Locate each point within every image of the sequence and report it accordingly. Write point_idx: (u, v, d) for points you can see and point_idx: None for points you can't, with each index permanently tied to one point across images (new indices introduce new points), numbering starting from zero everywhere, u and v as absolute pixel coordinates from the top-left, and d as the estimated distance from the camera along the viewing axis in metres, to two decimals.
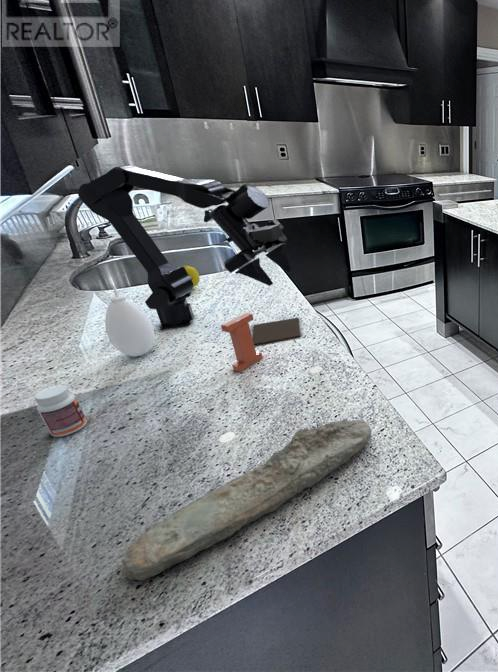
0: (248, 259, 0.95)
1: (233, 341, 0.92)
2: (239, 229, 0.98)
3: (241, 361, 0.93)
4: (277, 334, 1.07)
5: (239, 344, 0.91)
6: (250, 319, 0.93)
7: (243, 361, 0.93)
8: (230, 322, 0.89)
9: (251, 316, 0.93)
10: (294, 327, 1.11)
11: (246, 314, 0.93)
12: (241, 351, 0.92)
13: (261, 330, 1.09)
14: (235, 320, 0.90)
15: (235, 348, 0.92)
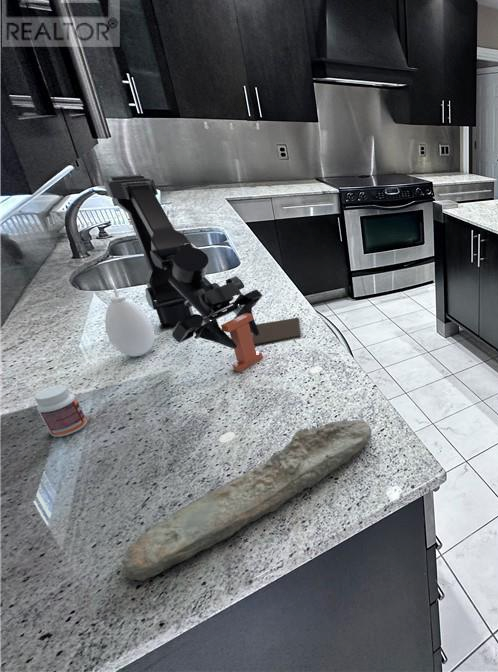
0: (190, 326, 0.83)
1: None
2: (193, 292, 0.88)
3: (241, 361, 0.93)
4: (277, 334, 1.07)
5: (239, 344, 0.91)
6: (250, 319, 0.93)
7: (243, 361, 0.93)
8: (230, 322, 0.89)
9: (251, 316, 0.93)
10: (294, 327, 1.11)
11: (246, 314, 0.93)
12: (241, 351, 0.92)
13: (261, 330, 1.09)
14: (236, 320, 0.90)
15: (235, 348, 0.92)
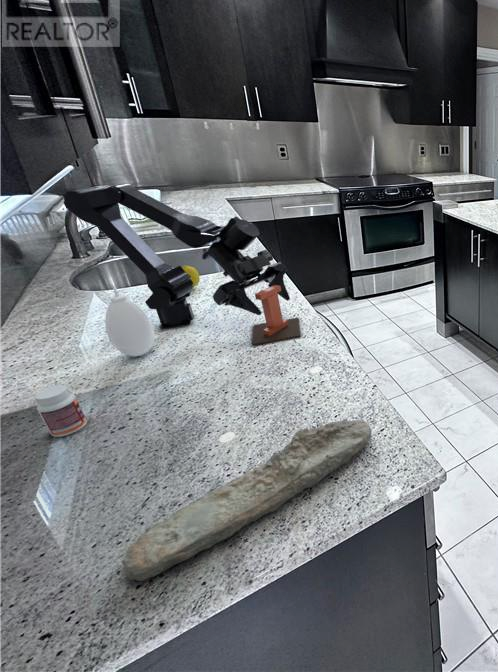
0: (229, 290, 0.96)
1: (264, 309, 1.05)
2: (230, 263, 1.02)
3: (270, 327, 1.07)
4: (277, 334, 1.07)
5: (270, 311, 1.05)
6: (278, 290, 1.07)
7: (272, 327, 1.07)
8: (262, 291, 1.03)
9: (279, 287, 1.07)
10: (294, 327, 1.11)
11: (275, 286, 1.07)
12: (271, 318, 1.06)
13: (261, 330, 1.09)
14: (267, 290, 1.04)
15: (266, 315, 1.06)
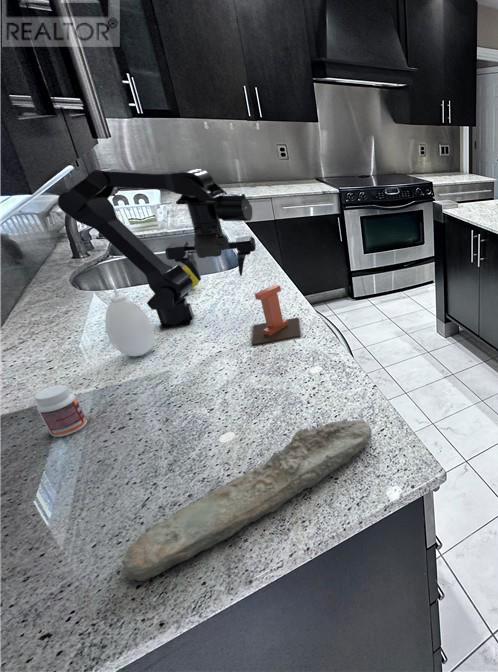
0: (170, 258, 0.99)
1: (264, 309, 1.05)
2: (195, 227, 1.01)
3: (270, 327, 1.07)
4: (277, 334, 1.07)
5: (269, 311, 1.05)
6: (278, 290, 1.07)
7: (272, 327, 1.07)
8: (262, 291, 1.03)
9: (279, 287, 1.07)
10: (294, 327, 1.11)
11: (275, 286, 1.07)
12: (271, 317, 1.06)
13: (261, 330, 1.09)
14: (266, 290, 1.04)
15: (265, 315, 1.06)
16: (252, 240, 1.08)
